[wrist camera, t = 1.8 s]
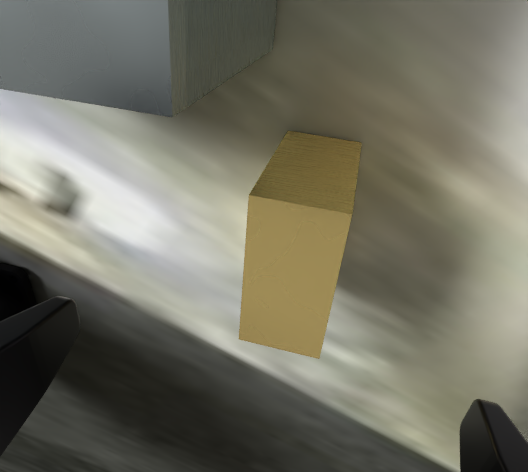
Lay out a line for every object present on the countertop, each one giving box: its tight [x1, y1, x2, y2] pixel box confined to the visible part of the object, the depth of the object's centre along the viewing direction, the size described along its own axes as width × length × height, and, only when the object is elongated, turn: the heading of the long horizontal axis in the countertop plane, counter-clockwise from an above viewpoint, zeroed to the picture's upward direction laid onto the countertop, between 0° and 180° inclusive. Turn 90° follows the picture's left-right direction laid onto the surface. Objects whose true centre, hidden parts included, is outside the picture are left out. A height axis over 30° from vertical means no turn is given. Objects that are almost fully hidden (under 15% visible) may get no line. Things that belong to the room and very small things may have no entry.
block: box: [239, 131, 362, 359], centre depth 13 cm, size 5×2×5 cm, turn 175°
